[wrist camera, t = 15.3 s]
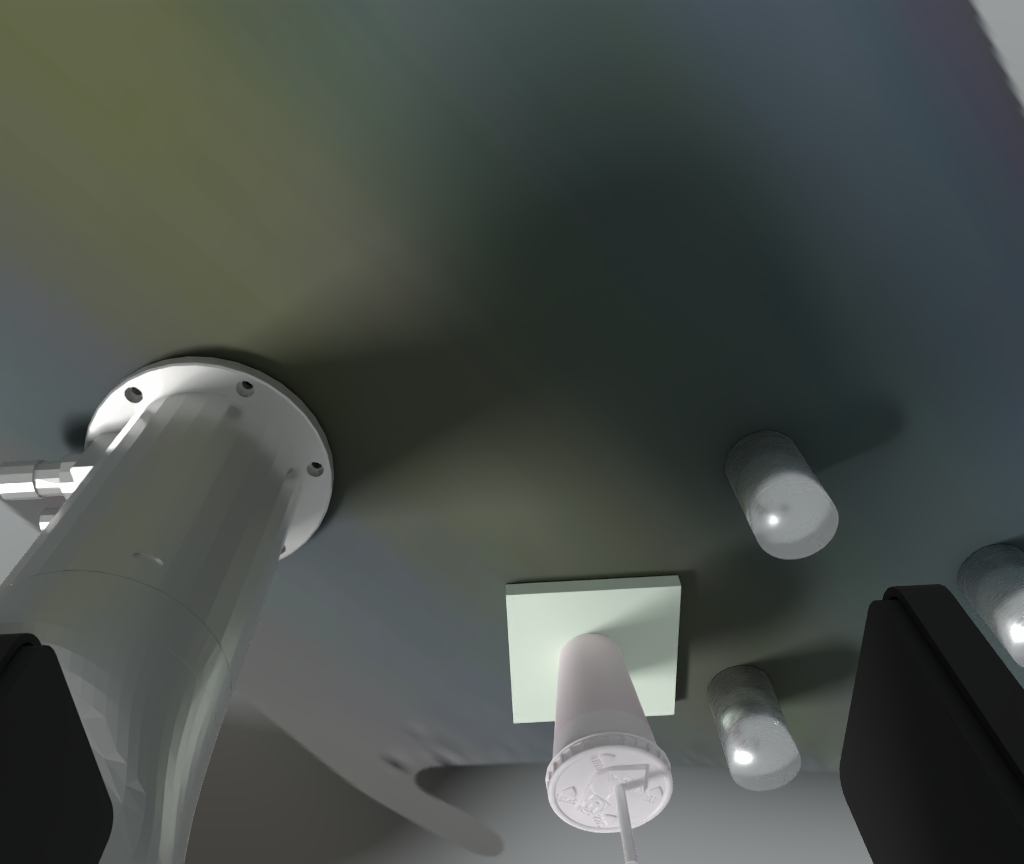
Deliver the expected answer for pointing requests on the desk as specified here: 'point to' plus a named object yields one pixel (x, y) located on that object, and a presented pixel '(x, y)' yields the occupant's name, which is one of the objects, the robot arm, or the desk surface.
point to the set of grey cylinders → (800, 533)
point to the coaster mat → (593, 610)
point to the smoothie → (603, 746)
